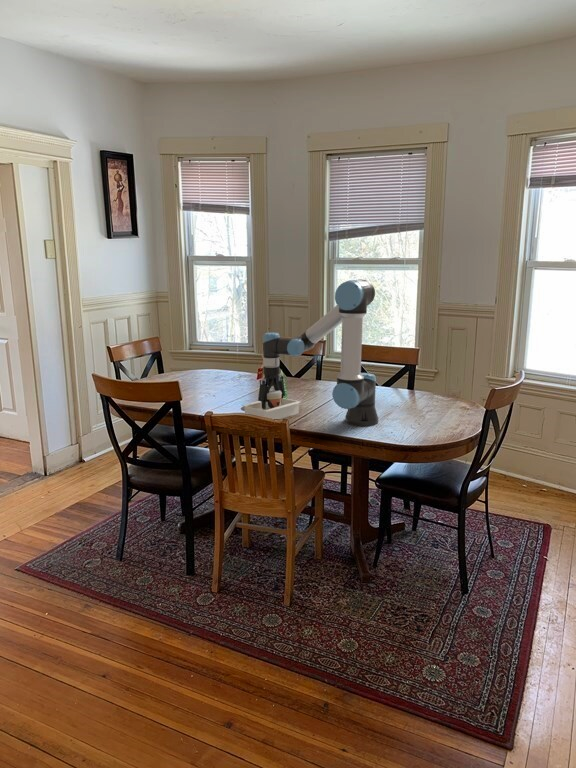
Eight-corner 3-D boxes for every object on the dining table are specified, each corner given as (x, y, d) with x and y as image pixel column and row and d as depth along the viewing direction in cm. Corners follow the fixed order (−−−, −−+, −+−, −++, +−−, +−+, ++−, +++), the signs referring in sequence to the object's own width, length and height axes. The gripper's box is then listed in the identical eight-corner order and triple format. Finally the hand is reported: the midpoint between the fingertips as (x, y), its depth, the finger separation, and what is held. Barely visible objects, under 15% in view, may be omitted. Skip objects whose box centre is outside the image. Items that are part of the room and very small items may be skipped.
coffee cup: (264, 419, 266) (264, 394, 263) (260, 414, 274) (259, 389, 272) (284, 417, 268) (284, 392, 265) (279, 412, 277) (278, 388, 274)
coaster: (267, 409, 284) (267, 407, 283) (251, 413, 276) (251, 412, 276) (252, 405, 291) (252, 404, 291) (236, 409, 283) (236, 408, 283)
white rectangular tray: (276, 408, 285) (276, 396, 284) (301, 414, 274) (301, 402, 272) (242, 417, 269) (241, 405, 267) (267, 424, 257) (267, 411, 256)
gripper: (281, 362, 276) (281, 407, 281) (249, 368, 261) (250, 416, 266) (292, 363, 271) (293, 410, 276) (260, 370, 256) (261, 419, 261)
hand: (272, 413), depth 271 cm, fingers closed on coffee cup, 8 cm apart
